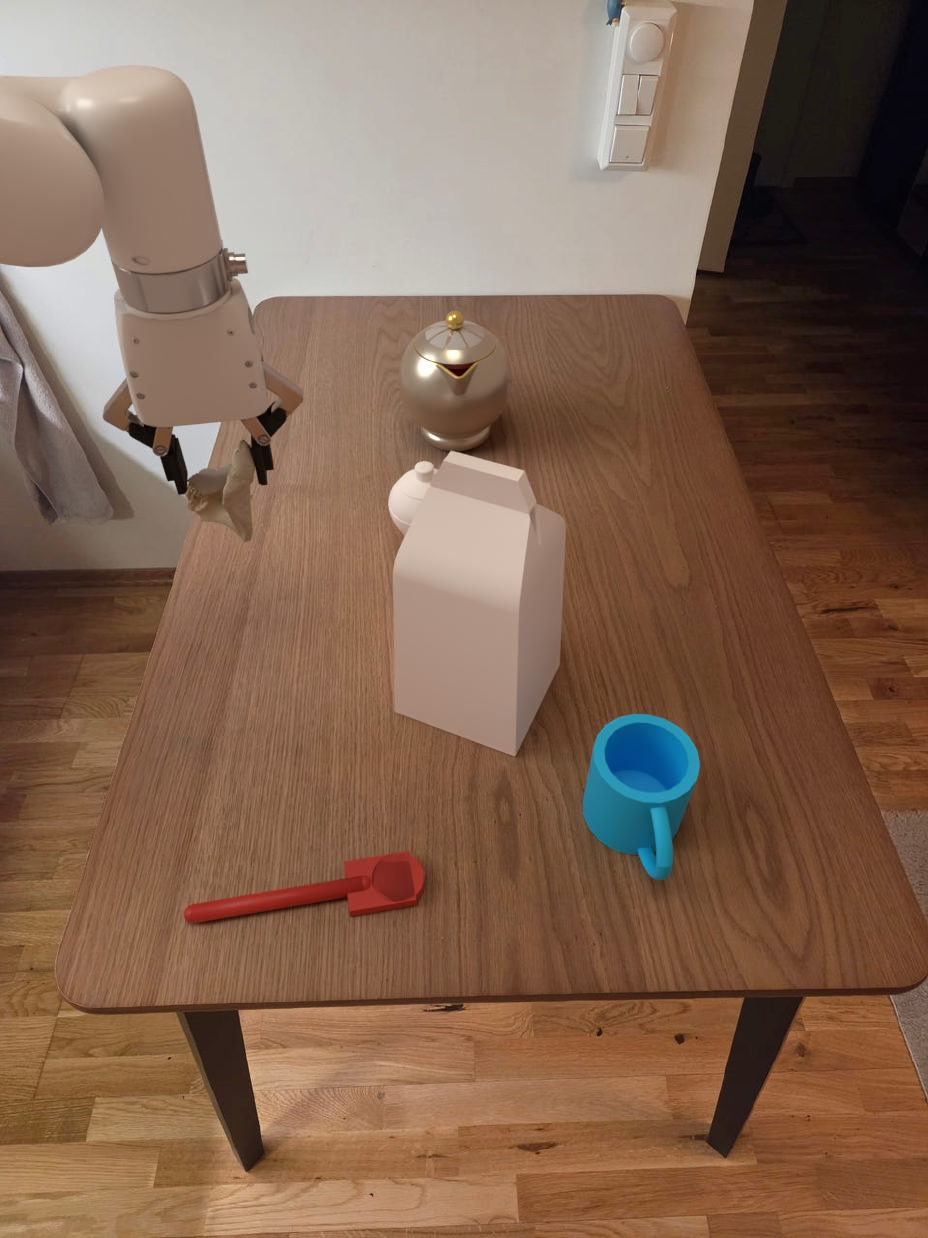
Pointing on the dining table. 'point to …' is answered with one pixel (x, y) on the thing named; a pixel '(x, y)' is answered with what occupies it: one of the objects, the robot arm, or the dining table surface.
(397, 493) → the spinning top
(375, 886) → the red toy shovel
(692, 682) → the dining table surface
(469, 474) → the milk
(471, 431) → the teapot
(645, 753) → the mug
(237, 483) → the bone
